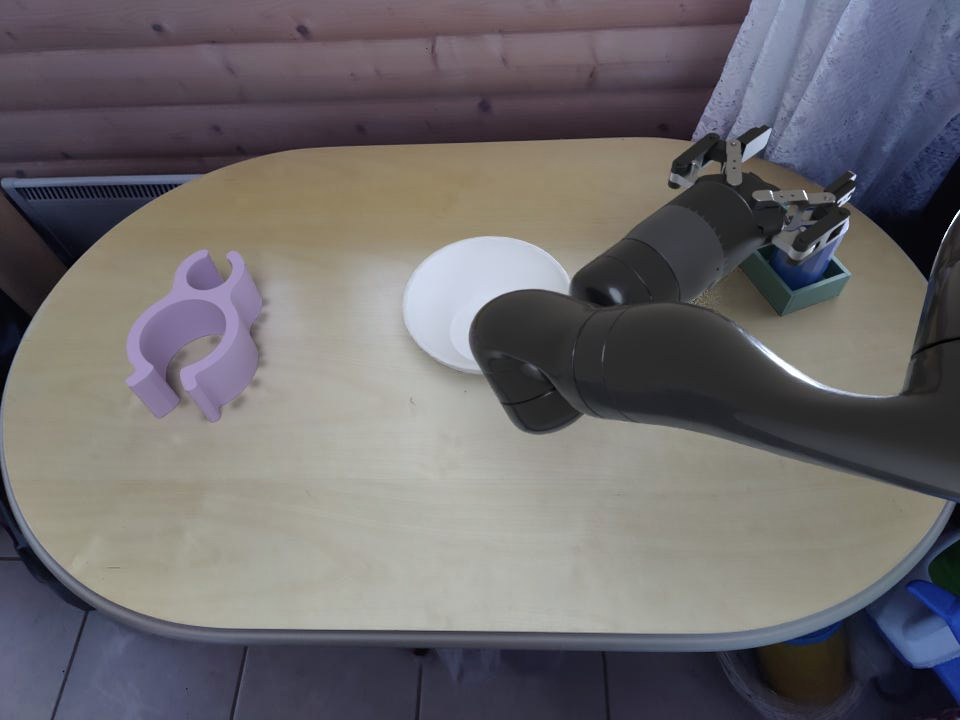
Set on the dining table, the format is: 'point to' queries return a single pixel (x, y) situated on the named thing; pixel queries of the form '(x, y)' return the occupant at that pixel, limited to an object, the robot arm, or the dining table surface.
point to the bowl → (471, 291)
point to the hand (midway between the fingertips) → (806, 156)
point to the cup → (804, 263)
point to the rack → (780, 292)
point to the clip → (197, 336)
